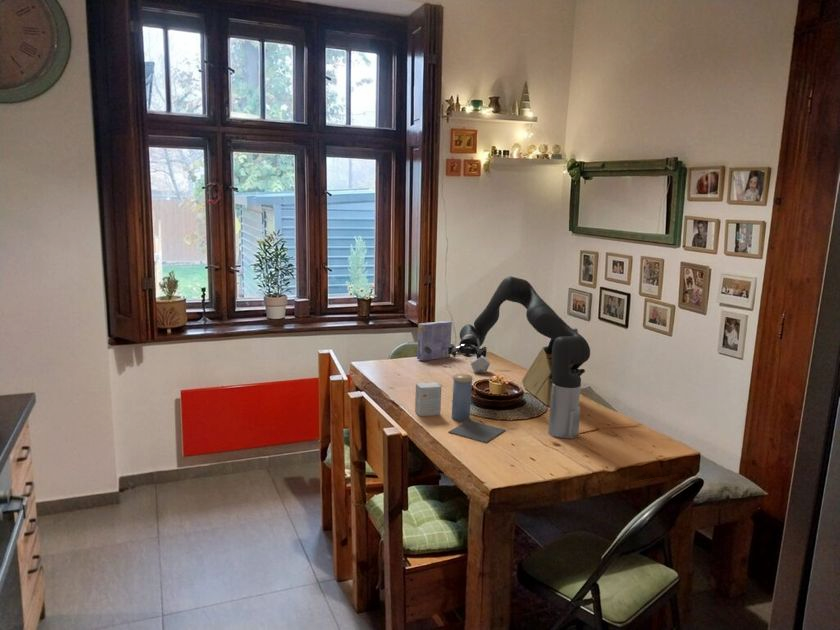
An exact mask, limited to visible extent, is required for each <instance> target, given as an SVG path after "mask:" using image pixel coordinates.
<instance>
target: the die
mask: <svg viewBox="0 0 840 630" xmlns="http://www.w3.org/2000/svg"><path fill="white" fill-rule="evenodd" d="M490 364H491V363H490V360H489V357H488V356H487V355H486V357H483V356H481V358H479V359H477V356H473V357H472V360H471V363H470V366H471V369H472V370H473V372H474V374H486V373H487V372H488V369H489V367H490Z"/></svg>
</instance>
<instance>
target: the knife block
mask: <svg viewBox="0 0 840 630" xmlns="http://www.w3.org/2000/svg"><path fill="white" fill-rule="evenodd" d="M572 329H573V330H574V331H576V332H577V333H578V334H579V331H578V328H576V327H574V328H572ZM554 341H555V340H553V339H551V338H550V341H549V343H548V345H547V346H543V347H542V348H541V350H539V352H538V354H537V356H536V357H535V359H534V361H533V362H532V364H531V365H530V366H529V368H528V370H527V372H525V375H524V376H523V379H522V385H523V387H524V388H525V390H526V391H528V392H529V393H531V394H532V395H533V396H534V397H536V398H537V399H539V401H540V402H542V403H543V404H545V406H547V407H550V402H551V390H552V372H551V368H552V347H553V343H554ZM583 364H584V363H581V364H570V365H569V372H571V373H574V374H576V375H578V376H580V377H581V376H582V375H583V374H585V372H586V370H585V368H580V367H581V366H583Z"/></svg>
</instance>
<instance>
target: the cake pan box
mask: <svg viewBox="0 0 840 630" xmlns="http://www.w3.org/2000/svg"><path fill="white" fill-rule="evenodd" d="M417 324H418V325H417V326H418V327H417V347H416V348H417V350H416V359H417V360H419V361H422V362H424V361H430V360H440V359H443V358H450V357H451V354H448V347H449V346H450V344H452V325H453V323H452V321H447V320H445V321H444V320H443V321H434V322H432V321H431V322H424V323H423V322H421V323H417Z"/></svg>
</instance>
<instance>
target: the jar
mask: <svg viewBox="0 0 840 630" xmlns="http://www.w3.org/2000/svg"><path fill="white" fill-rule="evenodd" d="M472 384H473V375H470V374H466V373H456V374H453V385H452V387H453V388H452V402H451V404H452V406H451V419H452V420H453V421H456V422H467V421H469V420H470V418H471V404H472V387H473V385H472Z"/></svg>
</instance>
